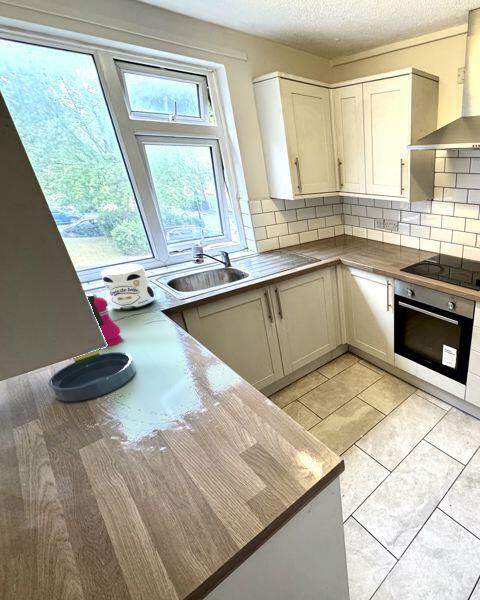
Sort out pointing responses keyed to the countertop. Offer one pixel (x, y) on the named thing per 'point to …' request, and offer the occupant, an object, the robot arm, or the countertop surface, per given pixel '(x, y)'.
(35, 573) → the countertop surface
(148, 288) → the milk container
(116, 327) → the pepper mill
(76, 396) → the bowl
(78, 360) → the sponge
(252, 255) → the countertop surface
